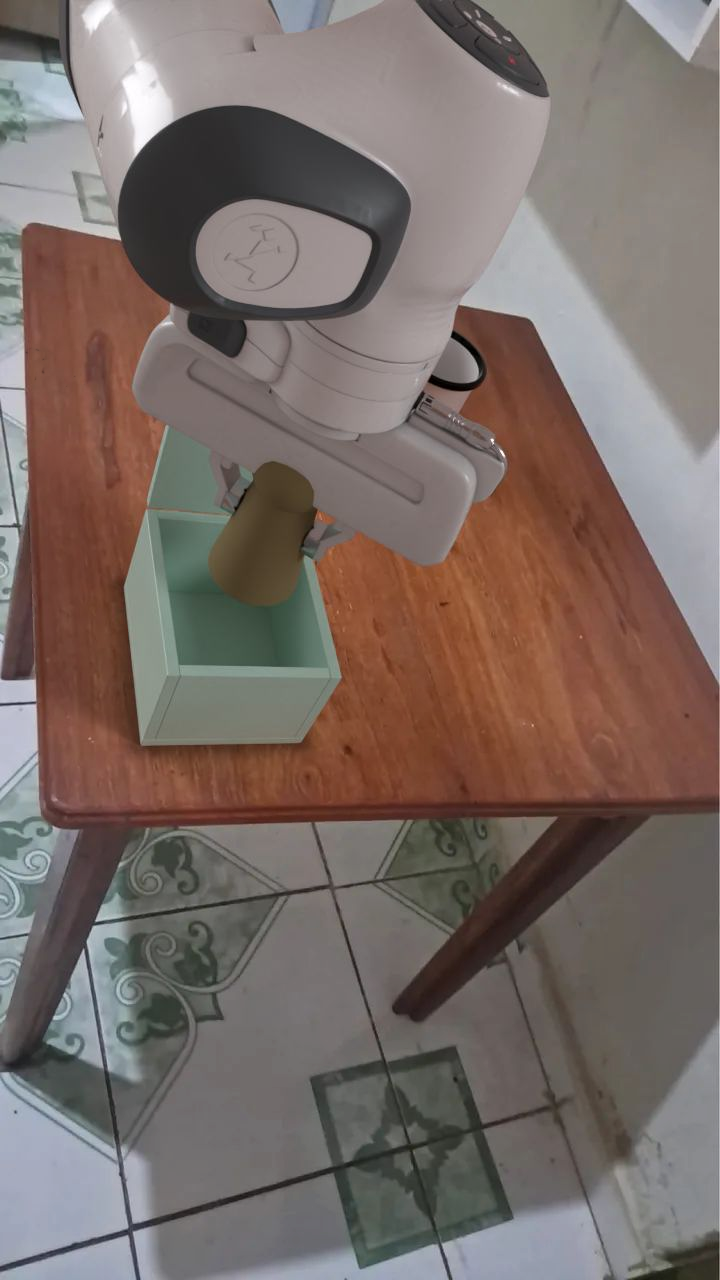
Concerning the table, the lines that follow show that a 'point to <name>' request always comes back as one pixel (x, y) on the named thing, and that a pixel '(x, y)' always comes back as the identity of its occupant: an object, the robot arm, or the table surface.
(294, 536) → the brown pawn
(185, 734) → the light green open box
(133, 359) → the table surface
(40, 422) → the table surface
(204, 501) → the lid
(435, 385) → the mug
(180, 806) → the table surface
